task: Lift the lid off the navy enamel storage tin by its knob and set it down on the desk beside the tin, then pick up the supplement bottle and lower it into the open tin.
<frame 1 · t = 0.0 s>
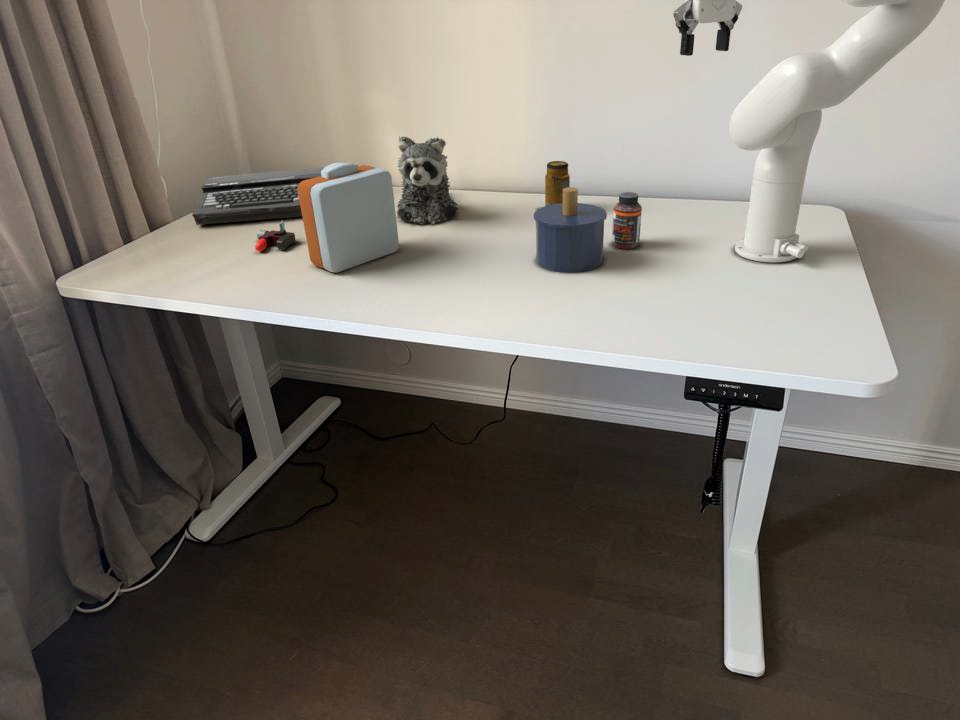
hand: (704, 52, 145), 37 cm above the table, tool pointing down, fingers open, 9 cm apart
tin lid: (569, 216, 142), point 9 cm above the table, touching tin
condiment: (557, 212, 176), on the table
tin: (569, 260, 146), on the table
raccoon plush: (423, 212, 182), on the table
toy gun: (269, 247, 164), on the table
vintage computer: (284, 206, 192), on the table
supplement bottle: (625, 246, 152), on the table
alarm clock: (356, 259, 154), on the table
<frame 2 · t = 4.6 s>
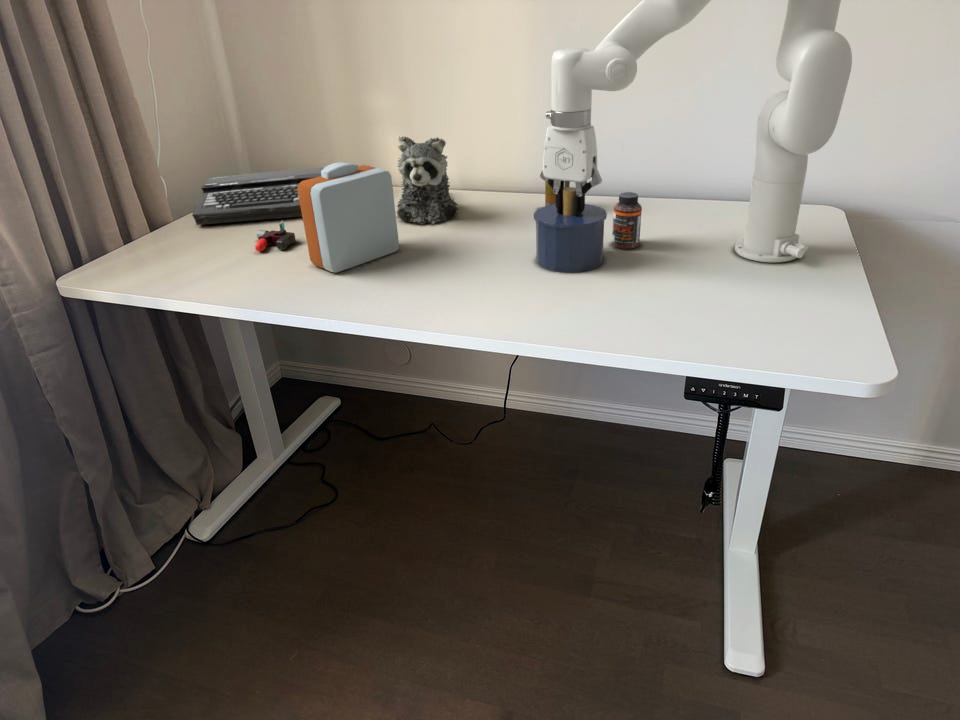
hand: (570, 212, 141), 10 cm above the table, tool pointing down, fingers closed on tin lid, 3 cm apart
tin lid: (569, 216, 142), point 10 cm above the table, touching gripper, tin
everything else where it was.
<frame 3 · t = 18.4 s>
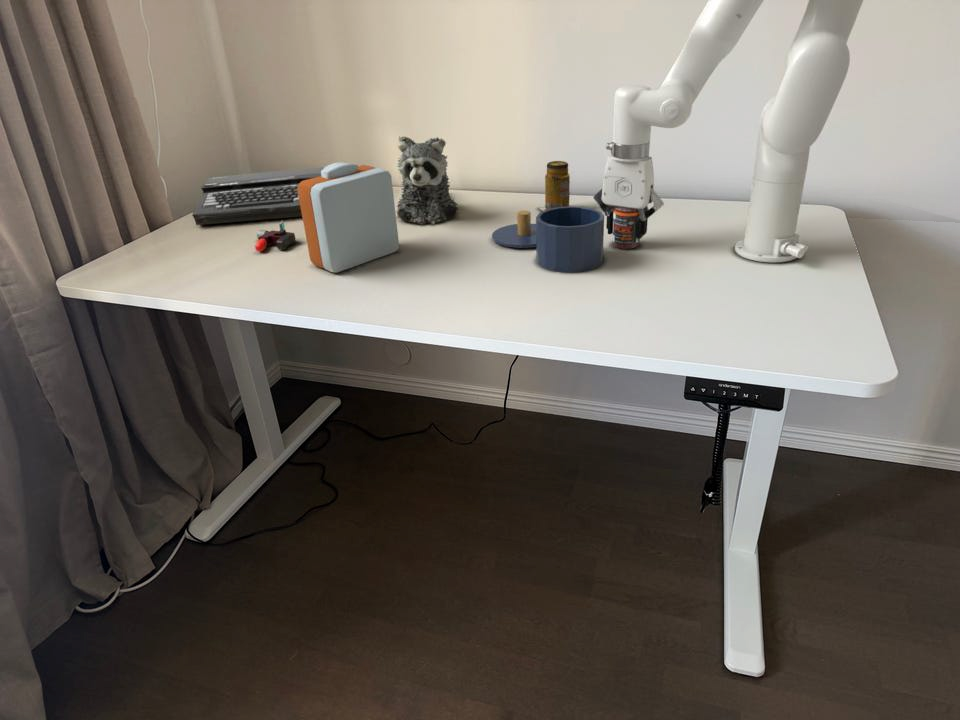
hand: (626, 233, 151), 3 cm above the table, tool pointing down, fingers closed on supplement bottle, 6 cm apart
tin lid: (524, 236, 159), point 1 cm above the table
supplement bottle: (625, 246, 152), on the table, touching gripper
everything else where it was.
when the fingers open (6 cm above the table, at t = 26.9 s): supplement bottle stays where it is, resting on tin.
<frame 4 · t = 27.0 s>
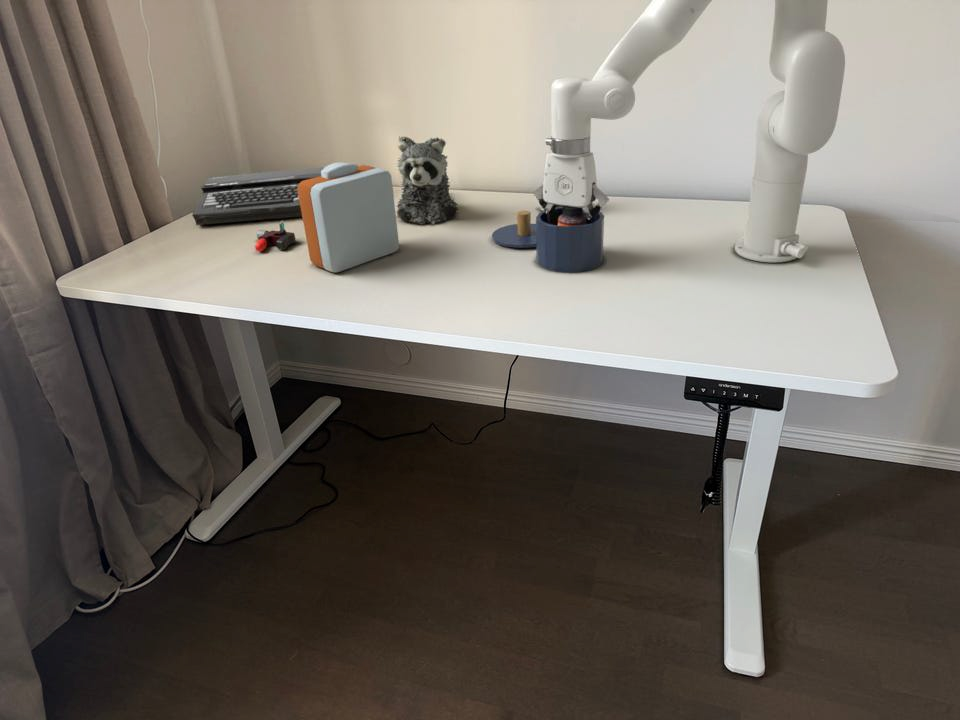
hand: (570, 232, 143), 6 cm above the table, tool pointing down, fingers open, 7 cm apart
supplement bottle: (571, 258, 146), resting on tin
everything else where it was.
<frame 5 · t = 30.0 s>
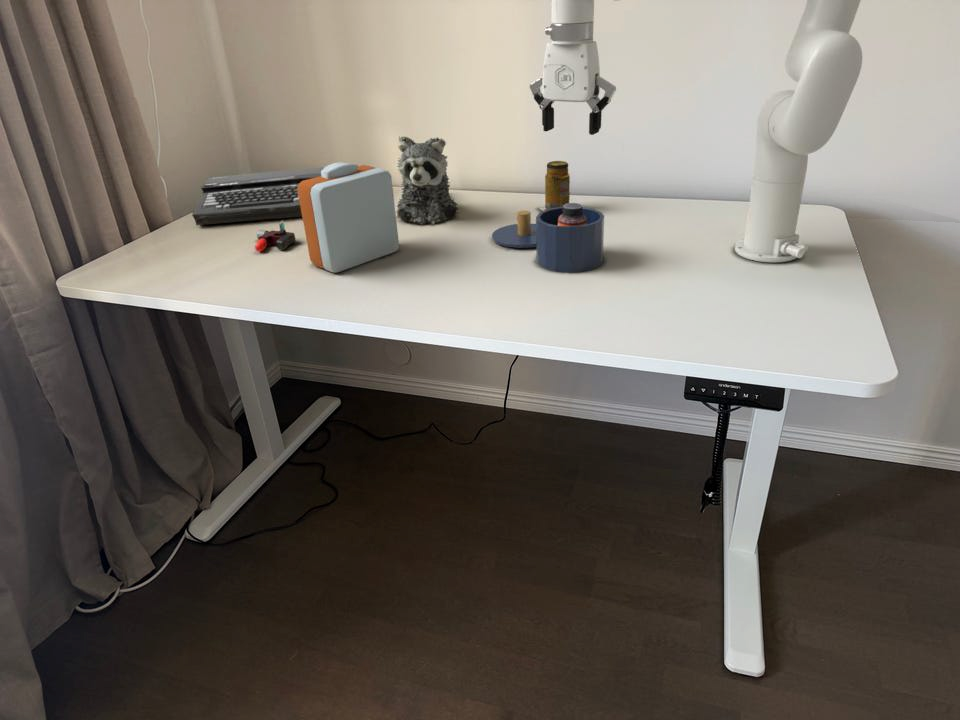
hand: (571, 131, 133), 26 cm above the table, tool pointing down, fingers open, 9 cm apart
nothing on the table moved.
at the end: tin lid inside the target area on the table beside the tin (0.1 cm from its centre), point 0.6 cm above the table; supplement bottle inside the target area in the tin (0.4 cm from its centre), point 0.3 cm above the tin's base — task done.
